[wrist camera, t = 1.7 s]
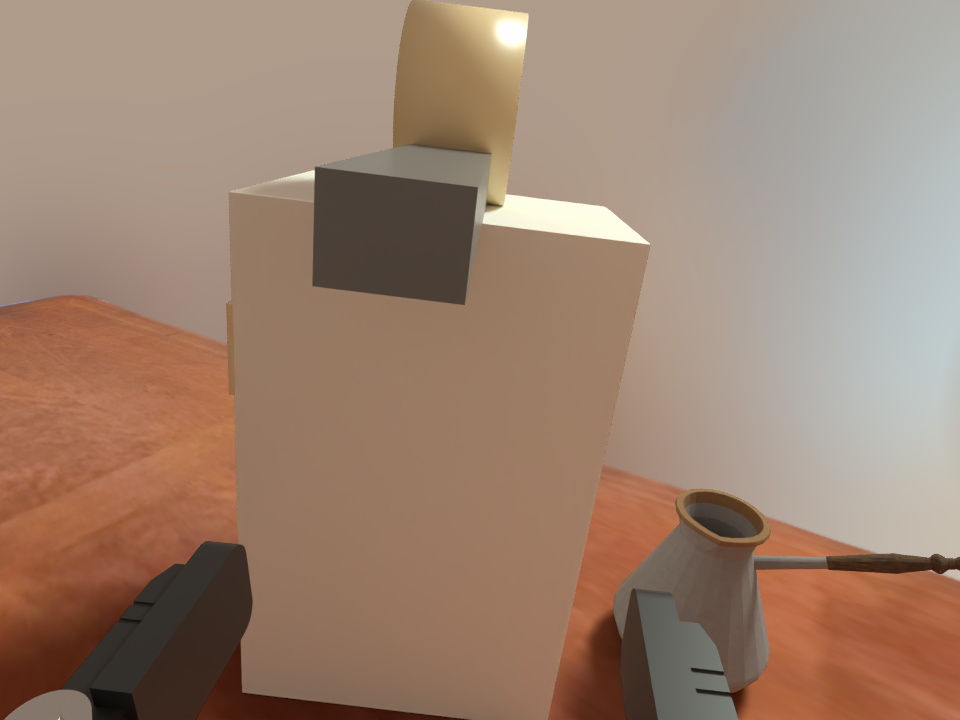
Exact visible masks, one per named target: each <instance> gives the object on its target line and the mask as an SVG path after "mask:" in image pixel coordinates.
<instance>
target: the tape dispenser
mask: <svg viewBox="0 0 960 720" xmlns="http://www.w3.org/2000/svg"><path fill="white" fill-rule="evenodd" d="M528 15H529V14H527V13H519V12H512V11H504V10H496V9H488V8H481V7H473V6H465V5H457V4H449V3H441V2H433V1H425V0H412V1H411V3H410V5H409V7H408V11H407V13H406V17H405V21H404V26H403V30H402V36H401V43H400V49H399V56H398V65H397V75H396V86H395V99H394V122H393V123H394V124H393V148H392V149H389V150H384V151H380V152H376V153H371V154H367V155H363V156H358V157H354V158H350V159H345V160H341V161H338V162H333V163H329V164H324V165H320V166H316V167H315V184H314V231H313V278H312V286H314V287H322V288H330V289H338V290H346V291H354V292H362V293H370V294H379V295H387V296H395V297H403V298H411V299H419V300H427V301H435V302H443V303H451V304H459V305H465V302H466V298H467V293H468V288H469V284H470V279H471V274H472V270H473V265H474V260H475V256H476V251H477V246H478V242H479V237H480V232H481V228H482V223H483V218H484V214H485V209H486V204H494V205H502V206H504V202H505V196H506V190H507V183H508V176H509V169H510V162H511V154H512V147H513V139H514V132H515V124H516V116H517V109H518V101H519V92H520V86H521V77H522V69H523V60H524V52H525V43H526V35H527V26H528Z"/></svg>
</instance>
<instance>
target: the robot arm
mask: <svg viewBox="0 0 960 720" xmlns="http://www.w3.org/2000/svg"><path fill="white" fill-rule="evenodd" d="M252 606H253V599H252V591H251V584H250V576H249V569H248V561H247V554H246V550H245V547H244V546H243V545H241V544H232V543H222V542H213V541H206V542H204V543H203V544H201V545H200V547H199V548H198V549H197V550H196V552H195V553H194V554H193V556H192V557H191V558H190V559H189V561H188V562H187V563H186V565H183V564H174V565H173V566H171V567H170V568H168V569H167V570H165V571H164V572H163V573H161V574H160V575H158V576H157V577H155V578H154V579H152V580H151V581H150V582H149V584H148V585H147V586H146V587H145V588H144V590H143V591H142V592H141V593H140V594H139V596H138V597H137V598H136V599H135V601H134V604H133V605H130V607H129V608H128V609H127V610H126V611H125V613H124V614H123V615H122V616H121V617H120V621H119V623H118V622H116V624H115V625H114V626H113V627H112V628H111V630H110V631H109V632H108V633H107V634H106V636H105V637H104V638H103V639H102V640H101V642H100V643H99V644H98V645H97V647H96V648H95V649H94V650H93V651H92V653H91V654H90V655H89V656H88V657H87V659H86V660H85V661H84V662H83V664H82V665H81V666H80V667H79V668H78V670H77V671H76V672H75V673H74V674H73V676H72V677H71V678H70V679H69V680H68V682H67V683H66V684H65V685H64V686H63V687H62V689H61V690H57V691H52V692H48V693H45V694H42V695H40V696H37V697H35V698H33V699H31V700H29V701H27V702H26V703H24V704H23V705H21V706H19V707H18V708H17V709H15V710H14V711H13V712H12V713H10V714H9V715H8V716H7V717H6V718H5V719H4V720H195V719H196V718H197V716H198V714H199V712H200V711H201V709H202V707H203V705H204V704H205V702H206V700H207V698H208V697H209V695H210V693H211V691H212V690H213V688H214V686H215V684H216V683H217V681H218V679H219V677H220V676H221V674H222V672H223V670H224V668H225V667H226V665H227V663H228V661H229V660H230V658H231V656H232V654H233V653H234V651H235V649H236V647H237V646H238V644H239V642H240V640H241V639H242V637H243V635H244V633H245V631H246V629H247V627H248V624H249V621H250V618H251V614H252ZM620 668H621V682H622V690H623V699H624V707H625V715H626V720H738V717H737V713H736V710H735V707H734V703H733V700H732V698H731V697H730V690H729V687H728V683H727V680H726V677H725V676H724V670H723V667H722V663H721V660H720V657H719V653H718V650H717V647H716V645H715V644H714V642H713V641H712V640H711V638H710V637H709V636H708V635H707V633H706V632H705V631H704V629H703V628H702V627H701V625H700V624H699V623H693V622H684V621H679V618H678V614H677V610H676V606H675V602H674V598H673V595H672V593H671V592H666V591H657V590H648V589H638V588H633V589H632V591H631V594H630V599H629V605H628V611H627V616H626V622H625V627H624V633H623V639H622V645H621V659H620Z"/></svg>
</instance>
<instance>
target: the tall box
mask: <svg viewBox="0 0 960 720" xmlns="http://www.w3.org/2000/svg"><path fill="white" fill-rule="evenodd" d="M314 184H315V170H313V171H309V172H305V173H301V174H297V175H293V176H289V177H285V178H282V179H277V180H273V181H269V182H266V183H262V184H258V185H254V186H250V187H246V188H242V189H238V190H234V191H230V192H229V224H230V261H231V294H232V295H231V298H232V300H231V301H230V302H228V303H227V304H226V309H227V310H226V311H227V344H228V377H229V394H230V395H234V409H235V446H236V483H237V520H238V544H241V545H243V546H244V547H245V550H246V554H247V561H248V569H249V576H250V584H251V591H252V599H253V606H252V614H251V618H250V621H249V624H248V627H247V629H246V631H245V633H244V635H243V637H242V639H241V668H242V693H250V694H258V695H266V696H275V697H283V698H292V699H300V700H309V701H317V702H326V703H334V704H342V705H351V706H359V707H368V708H376V709H385V710H393V711H402V712H410V713H418V714H427V715H435V716H444V717H452V718H461V719H469V720H548V715H549V710H550V706H551V701H552V696H553V692H554V687H555V683H556V678H557V673H558V669H559V664H560V660H561V655H562V650H563V646H564V641H565V637H566V632H567V627H568V623H569V618H570V614H571V609H572V604H573V600H574V595H575V591H576V586H577V581H578V577H579V572H580V568H581V563H582V558H583V554H584V549H585V545H586V540H587V535H588V531H589V526H590V521H591V517H592V512H593V508H594V503H595V498H596V494H597V489H598V485H599V480H600V475H601V471H602V466H603V462H604V457H605V452H606V448H607V443H608V438H609V434H610V429H611V425H612V420H613V415H614V411H615V406H616V402H617V397H618V393H619V388H620V383H621V378H622V374H623V369H624V365H625V360H626V356H627V351H628V346H629V342H630V337H631V333H632V328H633V323H634V319H635V314H636V309H637V305H638V300H639V296H640V291H641V286H642V282H643V277H644V273H645V268H646V264H647V259H648V254H649V250H650V244H649V243H648V242H647V241H646V240H644V239H643V238H642V237H641V236H640V235H639V234H637V233H636V232H635V231H634V230H633V229H631V228H630V227H629V226H628V225H626V224H625V223H624V222H623V221H622V220H620V219H619V218H618V217H617V216H615V214H613V213H612V212H611V211H610V210H609V209H607V208H606V207H602V206H593V205H586V204H578V203H570V202H562V201H554V200H546V199H538V198H529V197H522V196H515V195H506V196H505V202H504V206H502V205H494V204H486V209H485V214H484V218H483V223H482V228H481V232H480V237H479V242H478V246H477V251H476V256H475V260H474V265H473V270H472V274H471V279H470V284H469V288H468V293H467V298H466V302H465V305H459V304H451V303H443V302H435V301H427V300H419V299H411V298H403V297H395V296H387V295H379V294H370V293H362V292H354V291H346V290H338V289H330V288H322V287H314V286H312V278H313V231H314Z"/></svg>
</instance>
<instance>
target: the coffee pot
mask: <svg viewBox="0 0 960 720" xmlns="http://www.w3.org/2000/svg"><path fill="white" fill-rule="evenodd" d="M675 503H676V511H677V513H678V515H679V517H680V524H679V525H678V526H677V527H676V528H675V529H674V530H673V531H672V532H671V533H670V534H669V535H668V536H667V537H666V538H665V539H664V540H663V541H662V543H661V544H660V545H659V546H658V547H657V548H656V549H655V550H654V551H653V552H652V553H651V554H650V555H649V556H648V557H647V558H646V559H645V560H644V561H643V562H642V563H641V564H640V565H639V566H638V567H637V568H636V569H635V570H634V571H633V572H632V573H631V574H630V575H629V576H628V577H627V578H626V579H625V581H624V582H623V583H622V584H621V586H620V587H619V589H618V591H617V593H616V595H615V597H614V608H613V613H614V617H615V620H616V624H617V628H618V631H619V635H620V637H621V639H623V633H624V627H625V622H626V616H627V611H628V605H629V599H630V594H631V591H632V589H633V588H638V589H648V590H657V591H666V592H671V593H672V595H673V598H674V602H675V606H676V610H677V614H678V618H679V621H684V622H693V623H699V624H700V625H701V627H702V628H703V629H704V631H705V632H706V633H707V635H708V636H709V637H710V638H711V640H712V641H713V642H714V644H715V645H716V647H717V650H718V653H719V657H720V660H721V663H722V667H723V670H724V676H725V677H726V680H727V683H728V687H729V690H730V693H733V692H737V691H739V690H741V689H742V688H744V687H746V686H748V685H750V684H751V683H753V682H754V681H756V680H757V679H758V678H759V676H760V675H761V674H762V672H763V671H764V670H765V668H766V667H767V663H768V657H769V644H768V638H767V632H766V626H765V620H764V615H763V609H762V603H761V597H760V591H759V585H758V579H757V573H756V570H765V569H829V570H842V571H859V572H876V573H894V574H899V573H906V572H915V571H925V570H933V571H934V572H936V573H938V574H943V573H944V572H946V571H947V570H948V569H951V570H952V569H958V570H960V557H957V558H956V559H953V558H945V557H943V556H941V555H939V554H934V555H932V556H931V557H930V558H927V557H918V556H908V555H901V554H894V553H893V554H870V555H848V556H827V557H789V556H753V551H754V549H755V548H756V546H757V545H760V544H763V543H764V542H765V541H766V540H767V539H768V538H769V536H770V532H771V530H770V526H769V522H768V521H767V519H766V518H765V516H764V515H763V514H762V513H761V512H760V511H759V510H757V509H756V508H755V507H753V506H752V505H750V504H749V503H747V502H746V501H743V500H742V499H740V498H737V497H735V496H733V495H730V494H727V493H724V492H719V491H715V490H710V489H692V490H688V491H685V492H683V493H682V494H680V495H679V496H678V498H677V500H676V502H675Z"/></svg>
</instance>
